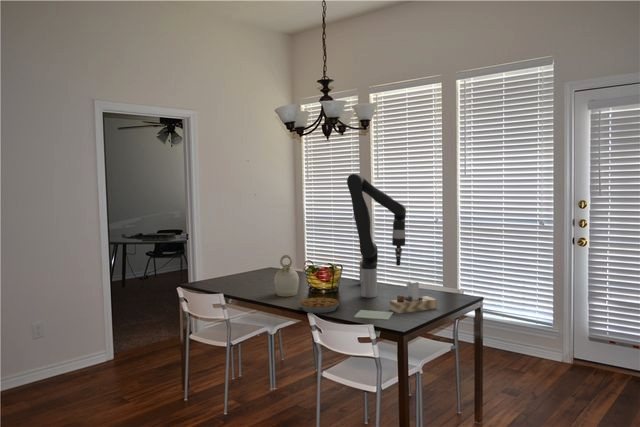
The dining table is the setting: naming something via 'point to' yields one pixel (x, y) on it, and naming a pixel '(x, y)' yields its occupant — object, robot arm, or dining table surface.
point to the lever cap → (413, 290)
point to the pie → (319, 305)
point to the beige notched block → (412, 304)
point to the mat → (373, 314)
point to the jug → (286, 279)
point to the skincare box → (360, 271)
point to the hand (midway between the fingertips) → (398, 264)
